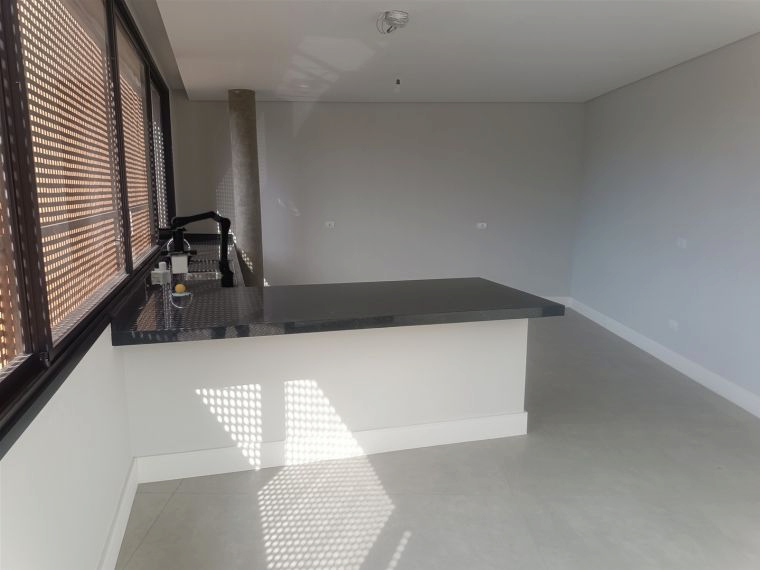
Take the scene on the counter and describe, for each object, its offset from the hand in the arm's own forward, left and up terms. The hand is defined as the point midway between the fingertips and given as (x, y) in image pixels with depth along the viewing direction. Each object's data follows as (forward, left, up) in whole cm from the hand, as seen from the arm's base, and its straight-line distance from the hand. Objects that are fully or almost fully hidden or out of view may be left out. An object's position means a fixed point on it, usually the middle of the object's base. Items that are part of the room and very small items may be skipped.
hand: (180, 267), depth 291 cm
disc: (0, +13, -12) cm, 18 cm away
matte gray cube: (0, 0, -2) cm, 2 cm away
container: (+12, -24, -13) cm, 30 cm away
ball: (0, +10, -10) cm, 14 cm away
